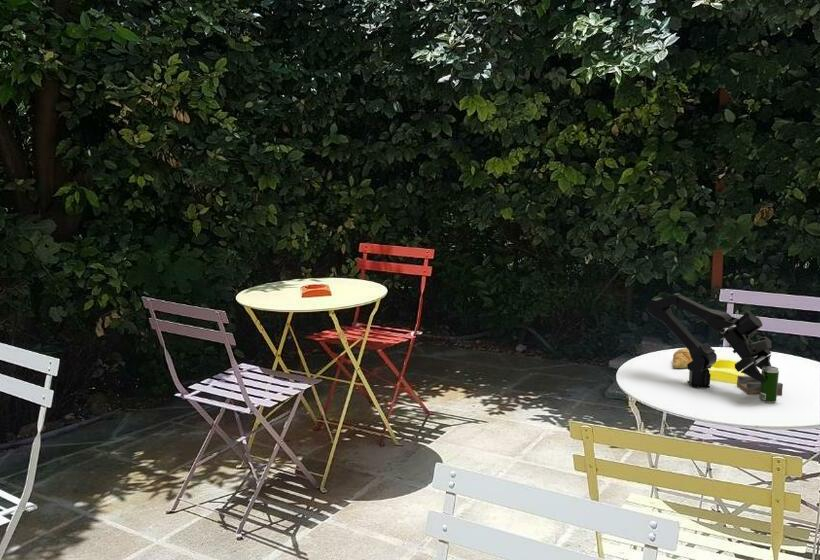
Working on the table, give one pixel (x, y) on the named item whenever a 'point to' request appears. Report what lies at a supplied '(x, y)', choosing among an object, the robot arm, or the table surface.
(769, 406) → the table surface
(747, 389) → the track board
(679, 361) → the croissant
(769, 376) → the beer can
